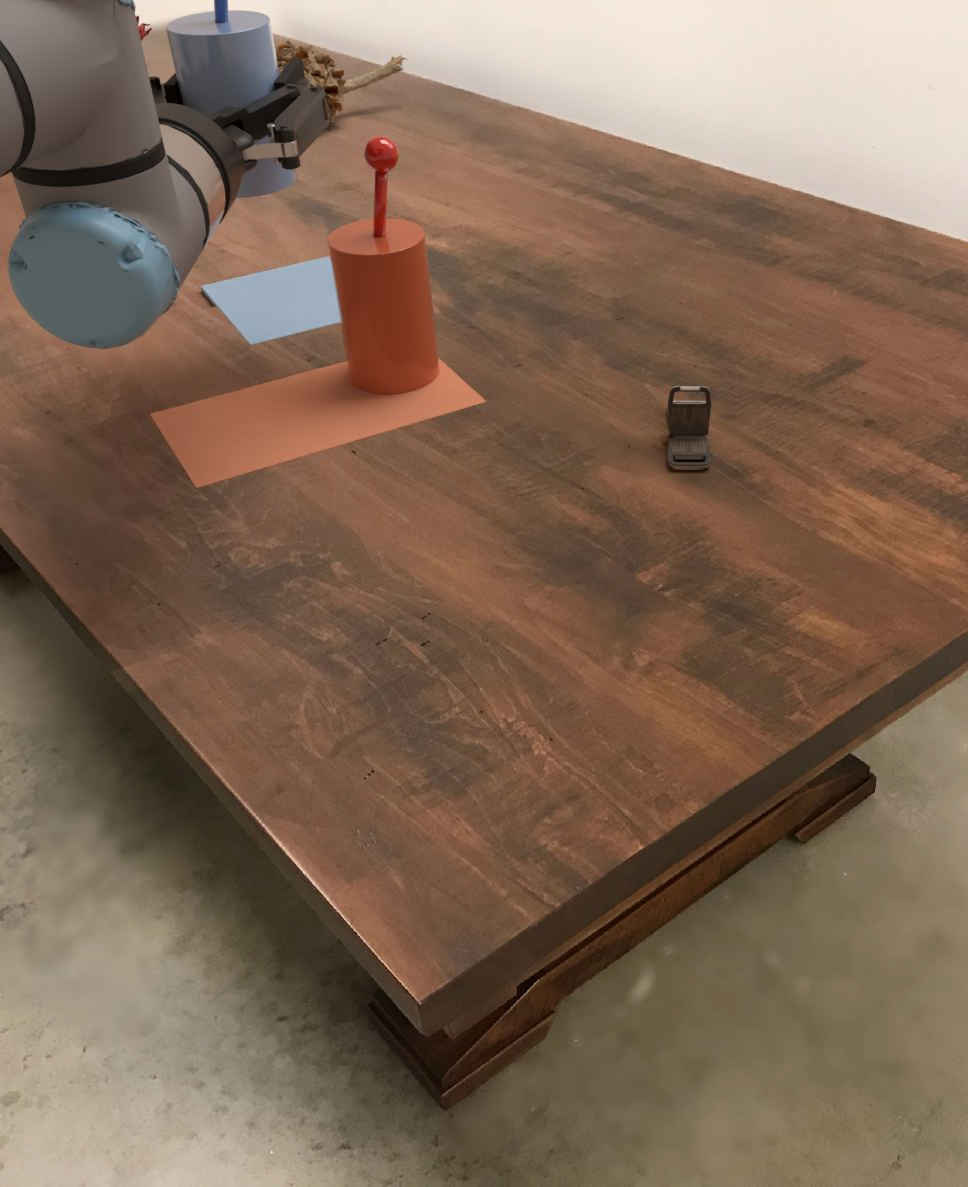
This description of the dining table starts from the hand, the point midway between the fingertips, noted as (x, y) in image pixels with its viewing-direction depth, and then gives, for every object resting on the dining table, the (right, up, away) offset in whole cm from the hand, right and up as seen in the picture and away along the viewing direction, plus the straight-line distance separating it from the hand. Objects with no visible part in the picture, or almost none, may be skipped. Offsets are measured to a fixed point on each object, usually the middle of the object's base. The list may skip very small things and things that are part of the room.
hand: (247, 78), depth 90 cm
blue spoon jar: (0, -8, 0) cm, 8 cm away
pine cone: (-6, +19, +57) cm, 61 cm away
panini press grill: (+33, -28, -4) cm, 43 cm away
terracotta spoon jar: (+10, -21, +4) cm, 24 cm away
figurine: (-41, +33, +76) cm, 93 cm away
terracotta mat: (+5, -25, 0) cm, 26 cm away
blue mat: (0, -13, +16) cm, 21 cm away
